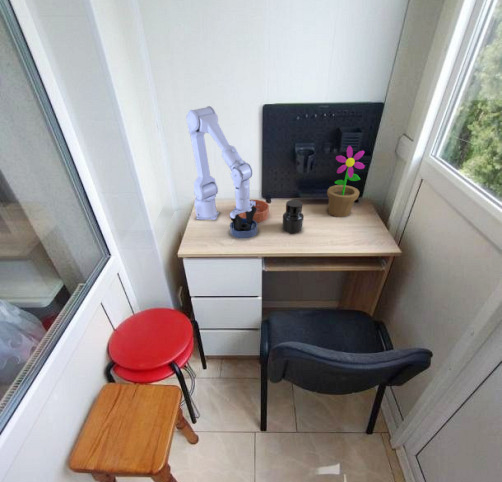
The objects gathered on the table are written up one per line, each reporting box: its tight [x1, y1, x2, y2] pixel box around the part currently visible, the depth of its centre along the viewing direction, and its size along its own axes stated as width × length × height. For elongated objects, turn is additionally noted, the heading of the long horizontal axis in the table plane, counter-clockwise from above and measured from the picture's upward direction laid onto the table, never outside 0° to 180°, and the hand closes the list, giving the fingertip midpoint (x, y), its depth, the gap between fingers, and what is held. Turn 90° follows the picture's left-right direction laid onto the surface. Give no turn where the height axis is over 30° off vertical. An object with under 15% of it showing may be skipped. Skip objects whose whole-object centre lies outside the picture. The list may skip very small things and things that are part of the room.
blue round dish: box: [229, 218, 259, 239], centre depth 124 cm, size 12×12×4 cm
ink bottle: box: [281, 199, 305, 234], centre depth 122 cm, size 10×9×12 cm
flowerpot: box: [326, 145, 366, 218], centre depth 127 cm, size 14×14×30 cm
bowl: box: [239, 199, 270, 224], centre depth 134 cm, size 15×15×5 cm
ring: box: [241, 223, 250, 231], centre depth 124 cm, size 5×5×3 cm
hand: (243, 227), depth 123 cm, fingers open, 7 cm apart
